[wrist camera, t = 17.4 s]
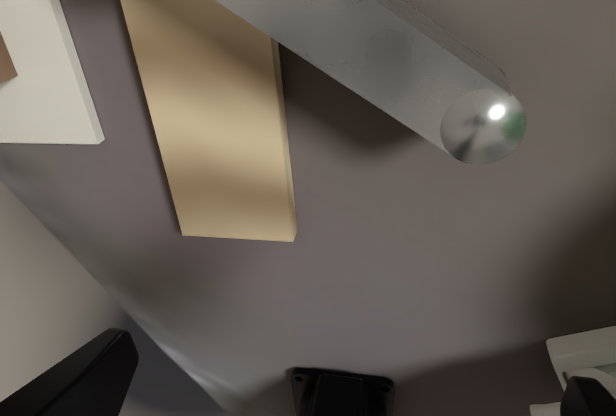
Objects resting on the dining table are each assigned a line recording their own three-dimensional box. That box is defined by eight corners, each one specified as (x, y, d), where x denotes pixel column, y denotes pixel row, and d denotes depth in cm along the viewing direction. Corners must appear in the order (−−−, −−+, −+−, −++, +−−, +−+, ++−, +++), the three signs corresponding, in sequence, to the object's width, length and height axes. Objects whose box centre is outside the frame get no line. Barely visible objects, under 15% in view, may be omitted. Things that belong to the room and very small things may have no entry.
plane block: (297, 230, 24) (293, 241, 23) (190, 224, 25) (182, 235, 25) (253, -197, 15) (244, -203, 14) (90, -175, 16) (73, -179, 16)
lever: (110, -95, 16) (29, -95, 13) (136, -200, 15) (51, -231, 11) (470, 144, 19) (483, 199, 15) (531, 79, 17) (560, 123, 13)
